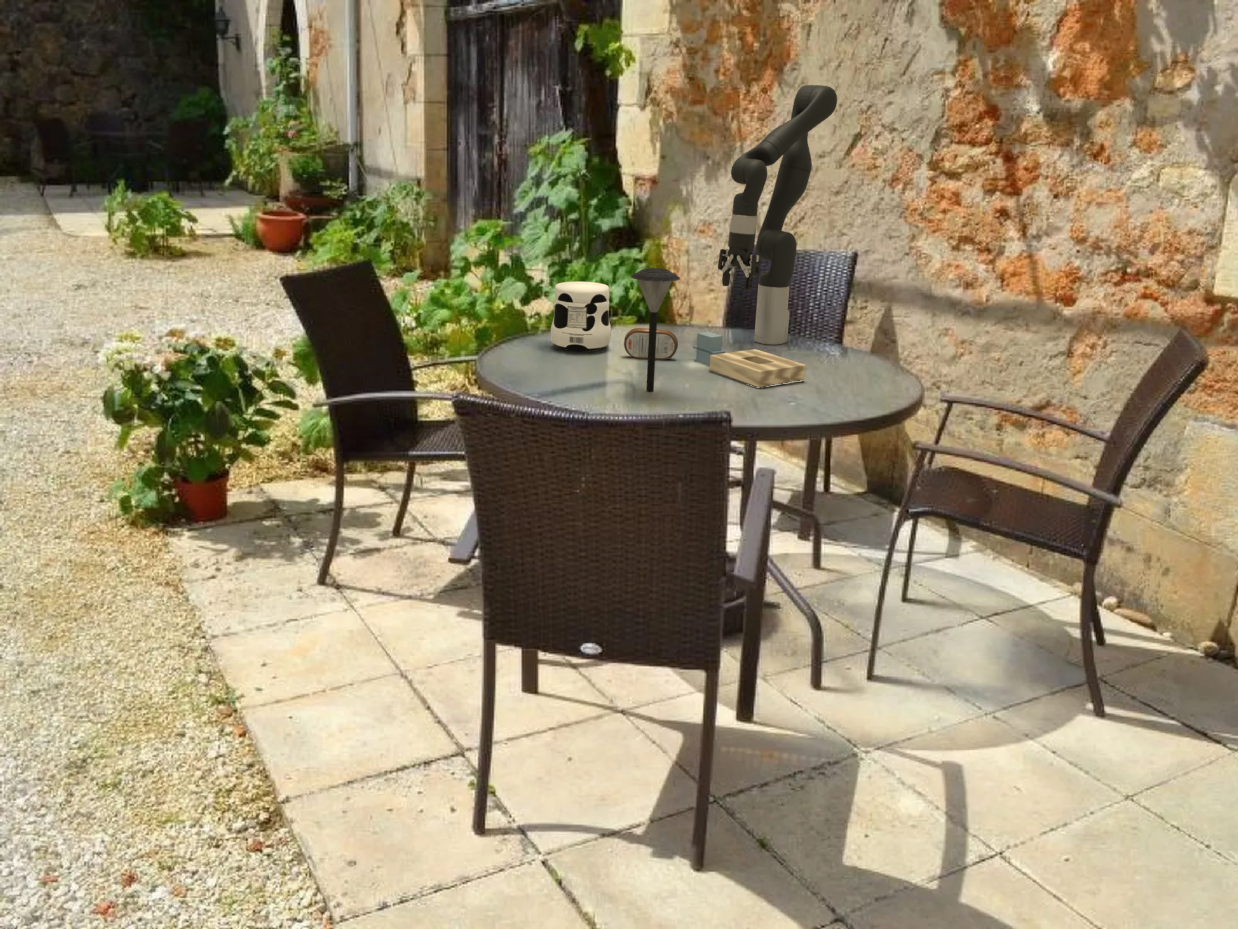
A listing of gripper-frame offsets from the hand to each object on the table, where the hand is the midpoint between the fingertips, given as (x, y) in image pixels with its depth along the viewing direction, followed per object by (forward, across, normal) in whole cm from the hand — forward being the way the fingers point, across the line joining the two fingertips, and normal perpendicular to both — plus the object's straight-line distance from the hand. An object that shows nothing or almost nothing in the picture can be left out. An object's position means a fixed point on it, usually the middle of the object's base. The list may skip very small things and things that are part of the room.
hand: (736, 288), depth 312 cm
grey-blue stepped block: (+19, -9, +18) cm, 28 cm away
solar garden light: (+21, -22, +52) cm, 60 cm away
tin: (+20, +3, +29) cm, 35 cm away
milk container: (+20, +23, +38) cm, 49 cm away
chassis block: (+19, -28, +19) cm, 38 cm away
